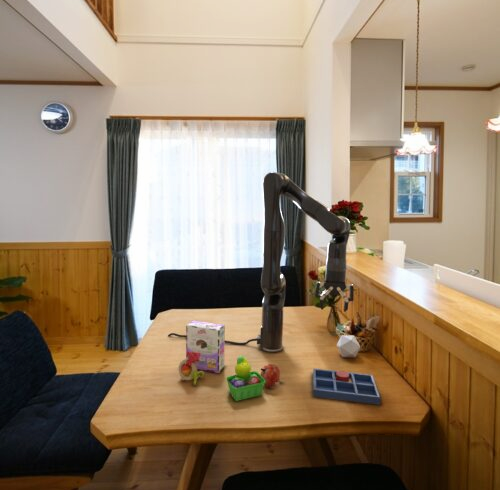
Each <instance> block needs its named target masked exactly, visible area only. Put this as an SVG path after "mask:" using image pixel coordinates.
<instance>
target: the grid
mask: <svg viewBox="0 0 500 490" xmlns="http://www.w3.org/2000/svg"><path fill="white" fill-rule="evenodd" d="M338 371H339V370H330V369H321V368H313V369H312V384H313V385H312V387H313V389H312V391H313V393H312V394H313V395H312V396H313V397H314V398H322V399H330V400H338V401H347V402H355V403H363V404H372V405H381V396H380V393H379V390H378V386H377V384H376V380H375V378H374V376H373V374H367V373H359V372H348V371H346V372H347V373H348V374H349V382H346V381H337V380H336V373H337V372H338Z"/></svg>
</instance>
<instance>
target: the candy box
mask: <svg viewBox="0 0 500 490" xmlns="http://www.w3.org/2000/svg"><path fill="white" fill-rule="evenodd" d="M185 329H186V330H185V333H186V334H185V335H186V337H185V339H186V340H185V351H186V352H187V351H188V352H195V353H201V354H200V356H199V362H195V363H196V366H197V370H199V371H206V372H212V373H215V374H220V372H221V371H222V370H223V369H224V367H225V344H226V343H225V341H226V340H225V339H226V338H225V337H226V336H225V335H226V334H225V333H226V332H225V331H226V326H225V324H222V323H221V324H220V323H213V322H207V321H200V320H192V321H191V322H189V323H188V324H186V325H185ZM186 352H185V359H187V358H188V356H187V354H186Z"/></svg>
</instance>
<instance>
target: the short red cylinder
mask: <svg viewBox="0 0 500 490" xmlns="http://www.w3.org/2000/svg"><path fill="white" fill-rule="evenodd" d="M337 371H338V372H337V373H336V380H337V381H346V382H349V374H348V373H347V372H348V371H344V370H337Z"/></svg>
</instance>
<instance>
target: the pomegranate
mask: <svg viewBox="0 0 500 490" xmlns="http://www.w3.org/2000/svg"><path fill="white" fill-rule="evenodd" d="M259 374H260V375H261V376H262V378H263V379H264V380H265V384H264V386H265V387H266V388H270V389H272V388H274V387H276V383H280V384H282V382H281V381H280V377H281V369H280V367H279V366H278V365H277V364H275V363H268V364H267V365H264V366H263V368H260V373H259Z"/></svg>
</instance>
